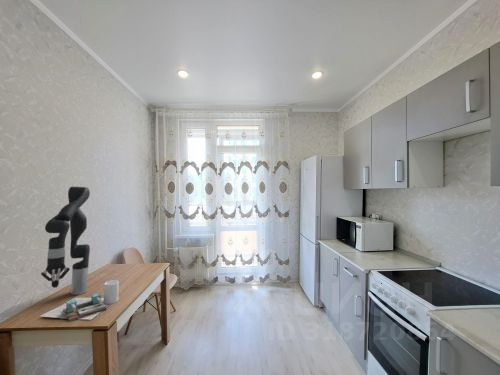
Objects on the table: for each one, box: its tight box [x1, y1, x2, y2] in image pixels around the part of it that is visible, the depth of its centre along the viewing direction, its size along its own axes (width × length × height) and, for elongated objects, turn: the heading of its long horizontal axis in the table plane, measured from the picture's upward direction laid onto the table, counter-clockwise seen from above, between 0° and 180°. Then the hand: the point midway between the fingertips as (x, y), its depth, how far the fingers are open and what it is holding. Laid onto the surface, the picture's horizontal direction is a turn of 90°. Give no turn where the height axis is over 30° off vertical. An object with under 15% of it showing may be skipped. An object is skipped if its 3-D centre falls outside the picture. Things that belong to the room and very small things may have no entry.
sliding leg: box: [65, 299, 78, 313], centre depth 134 cm, size 10×4×5 cm, turn 49°
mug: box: [102, 279, 120, 305], centre depth 153 cm, size 12×8×12 cm
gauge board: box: [62, 300, 107, 323], centre depth 138 cm, size 16×18×3 cm
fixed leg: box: [90, 292, 102, 305], centre depth 144 cm, size 10×4×5 cm, turn 49°
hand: (54, 287), depth 130 cm, fingers closed
